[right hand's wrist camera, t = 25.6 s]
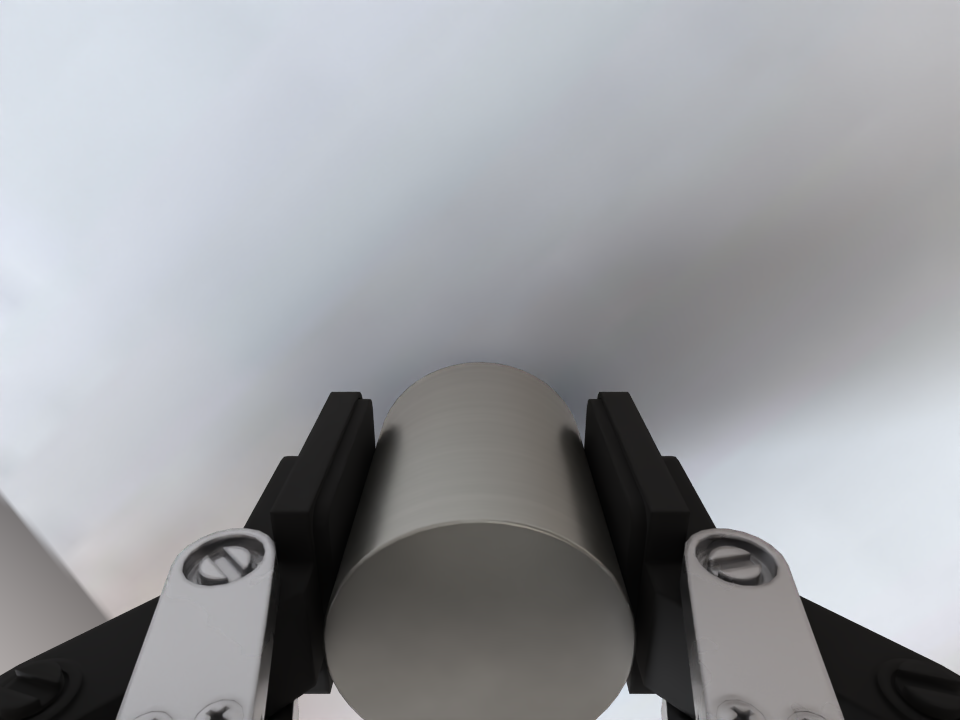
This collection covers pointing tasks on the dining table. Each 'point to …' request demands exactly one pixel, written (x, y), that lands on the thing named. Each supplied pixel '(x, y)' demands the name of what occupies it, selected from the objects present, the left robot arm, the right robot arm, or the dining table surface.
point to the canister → (479, 562)
